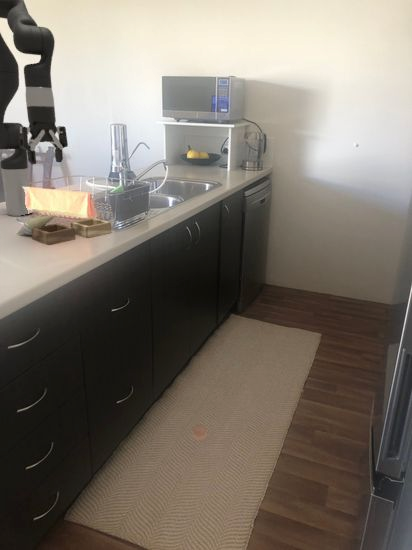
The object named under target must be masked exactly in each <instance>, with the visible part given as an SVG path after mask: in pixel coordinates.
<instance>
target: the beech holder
mask: <svg viewBox="0 0 412 550" xmlns="http://www.w3.org/2000/svg"><path fill="white" fill-rule="evenodd" d="M92 218H93V219H91V218H88V219H82V220H77V221H71V222H70V227H72V228H75V235H77V236H81V237H83V238H86V239H90V238H94V237H99V236H102V235H106V234H107V235H108V234H111V233H112V223H111V222H109V221H106V220H104V219H103V220H102V219H99V218H94V217H92Z"/></svg>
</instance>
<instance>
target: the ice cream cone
mask: <svg viewBox="0 0 412 550" xmlns="http://www.w3.org/2000/svg"><path fill="white" fill-rule="evenodd" d="M54 218H55V214H54V215H53V214H52V215H45V216H39V217H30V218H28V220H26V221H25V222H23V225H22V226H21V227H20V228H19V230H18V232H17V233H16V235H31V236H32V231H31V228H36V227H41V226H46V225H48V223H49V222H50V221H52V220H53V219H54Z"/></svg>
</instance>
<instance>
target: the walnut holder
mask: <svg viewBox="0 0 412 550" xmlns="http://www.w3.org/2000/svg"><path fill="white" fill-rule="evenodd" d="M31 231H32V235H31V239H32V240H34V241H37V242H38V243H39V242H40V243H41V244H42V243H43V244H46V245H48V246H50V245H55V244H59V243H64V242H68V241H72V240H76V234H75V228H72V227H71V226H68V225H65V224H62V223H52V224H46V225H45V226H41V227H36V228H31Z"/></svg>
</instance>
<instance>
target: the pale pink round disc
mask: <svg viewBox="0 0 412 550" xmlns="http://www.w3.org/2000/svg"><path fill="white" fill-rule="evenodd" d="M191 430H192V431H191V432H192V438H193V439H194V440H195V441H198V442H201V441H204V440H205V439H207V437H208V428H207V426H206V425H205V424H204V425H203V424H196V425H194V426H193V428H192V429H191Z"/></svg>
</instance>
